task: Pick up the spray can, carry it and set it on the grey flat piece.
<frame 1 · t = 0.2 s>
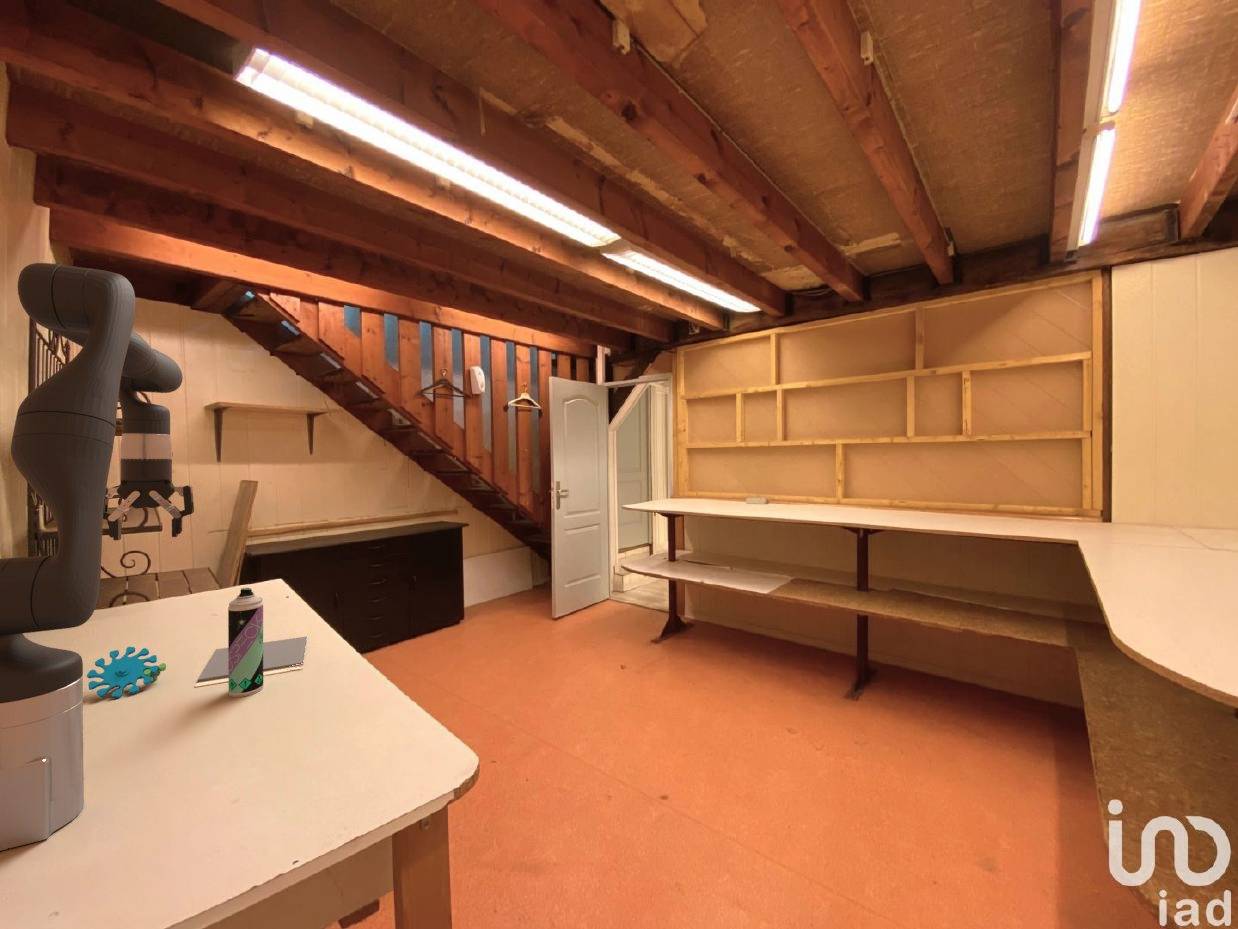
hand: (147, 538, 101), 29 cm above the table, tool pointing down, fingers open, 8 cm apart
spray can: (246, 691, 99), on the table
gear: (127, 691, 98), on the table
grey flat piece: (251, 676, 105), on the table
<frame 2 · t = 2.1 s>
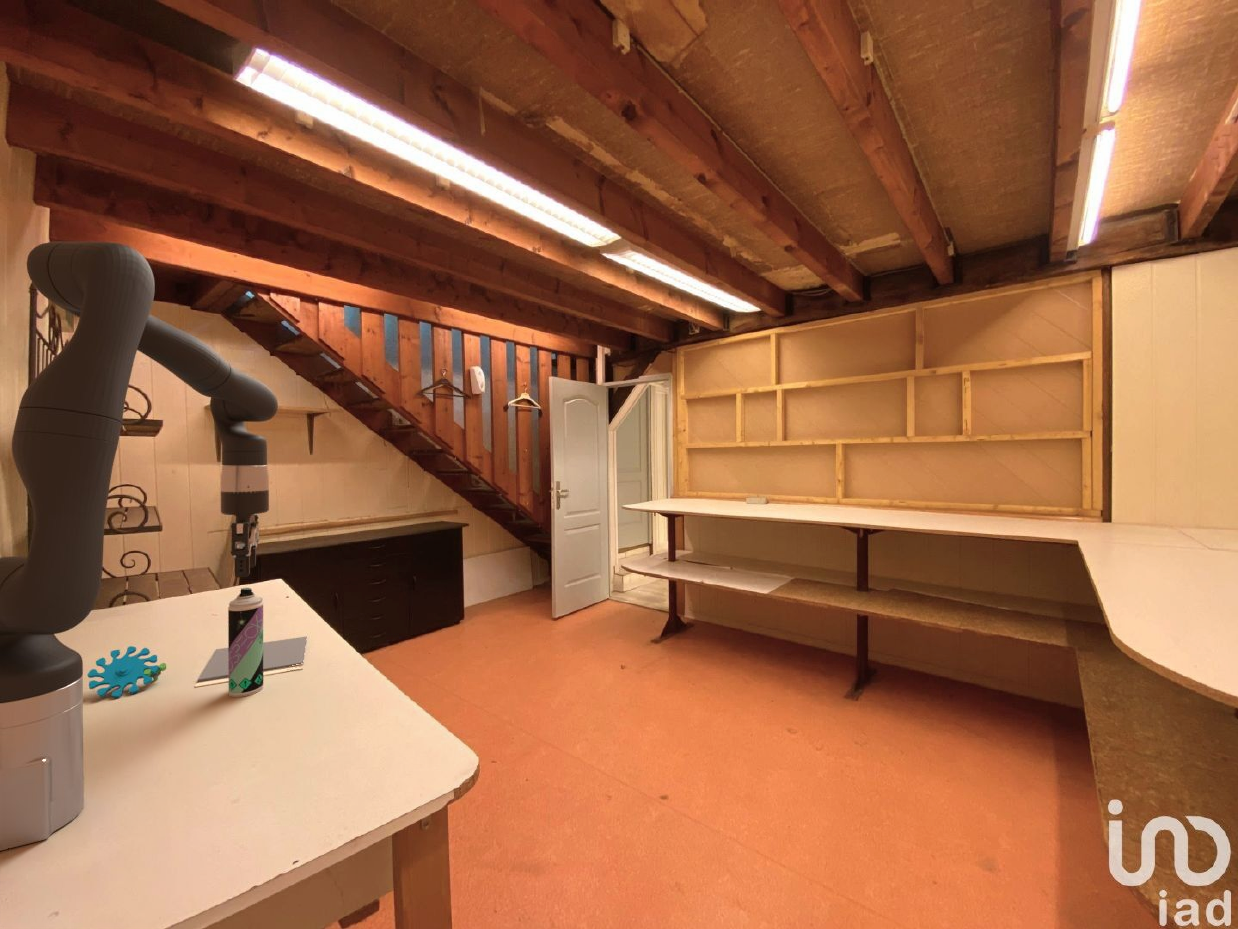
hand: (245, 572, 98), 23 cm above the table, tool pointing down, fingers open, 8 cm apart
nothing on the table moved.
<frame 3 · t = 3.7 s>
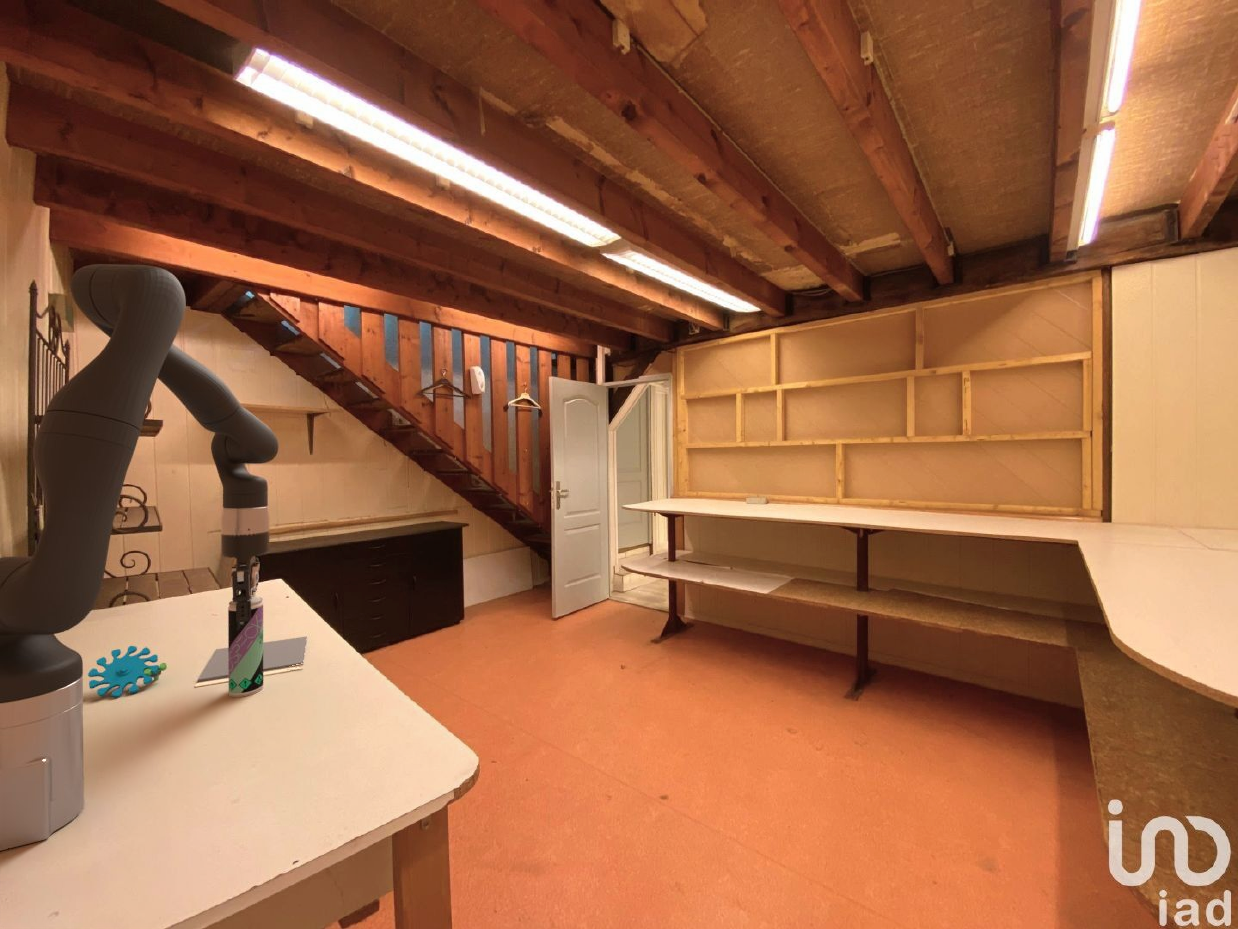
hand: (246, 616, 98), 14 cm above the table, tool pointing down, fingers closed on spray can, 5 cm apart
spray can: (246, 691, 99), on the table, touching gripper
everything else where it was.
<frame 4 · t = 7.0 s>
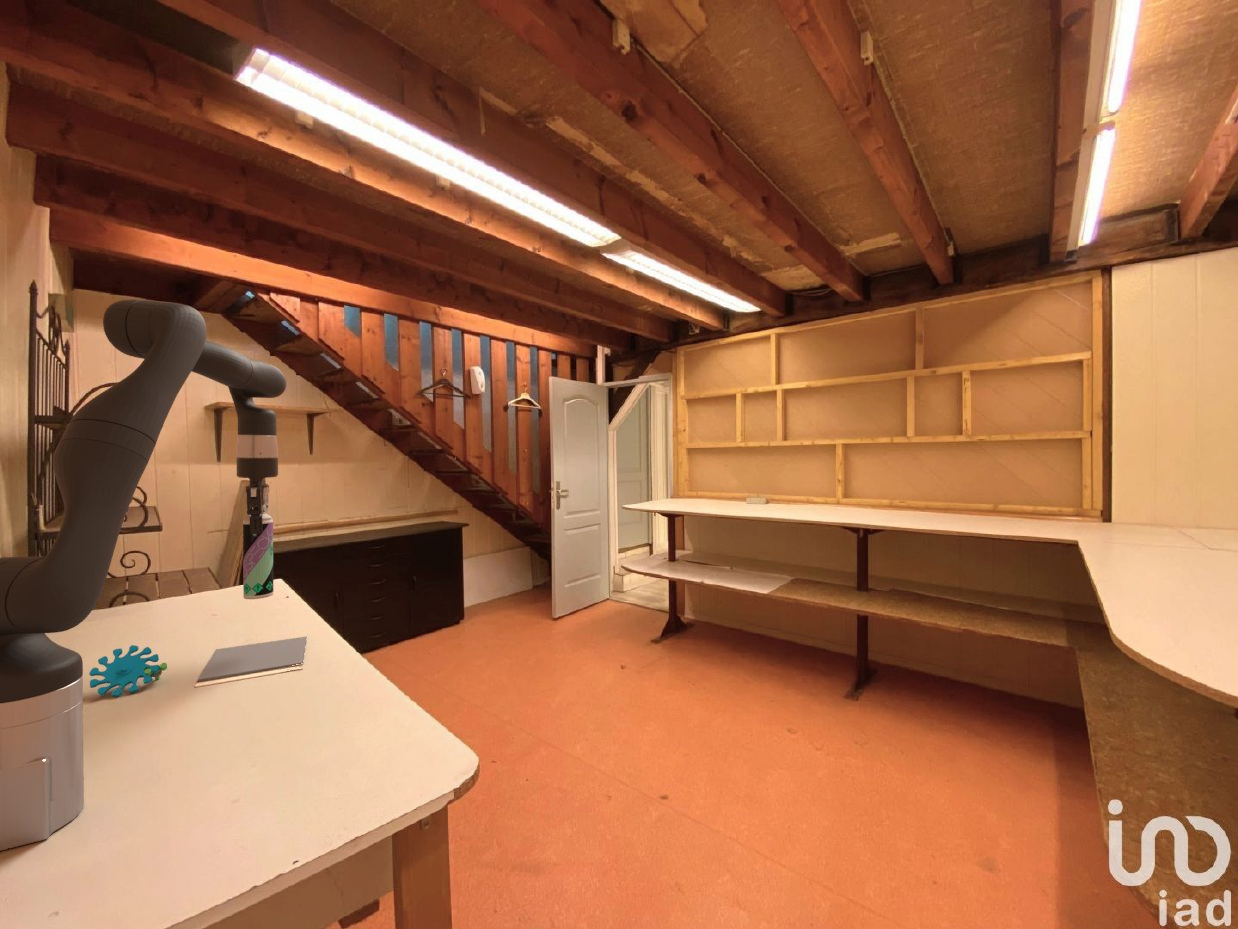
hand: (258, 531, 113), 29 cm above the table, tool pointing down, fingers closed on spray can, 5 cm apart
spray can: (258, 596, 113), point 14 cm above the table, touching gripper
everything else where it was.
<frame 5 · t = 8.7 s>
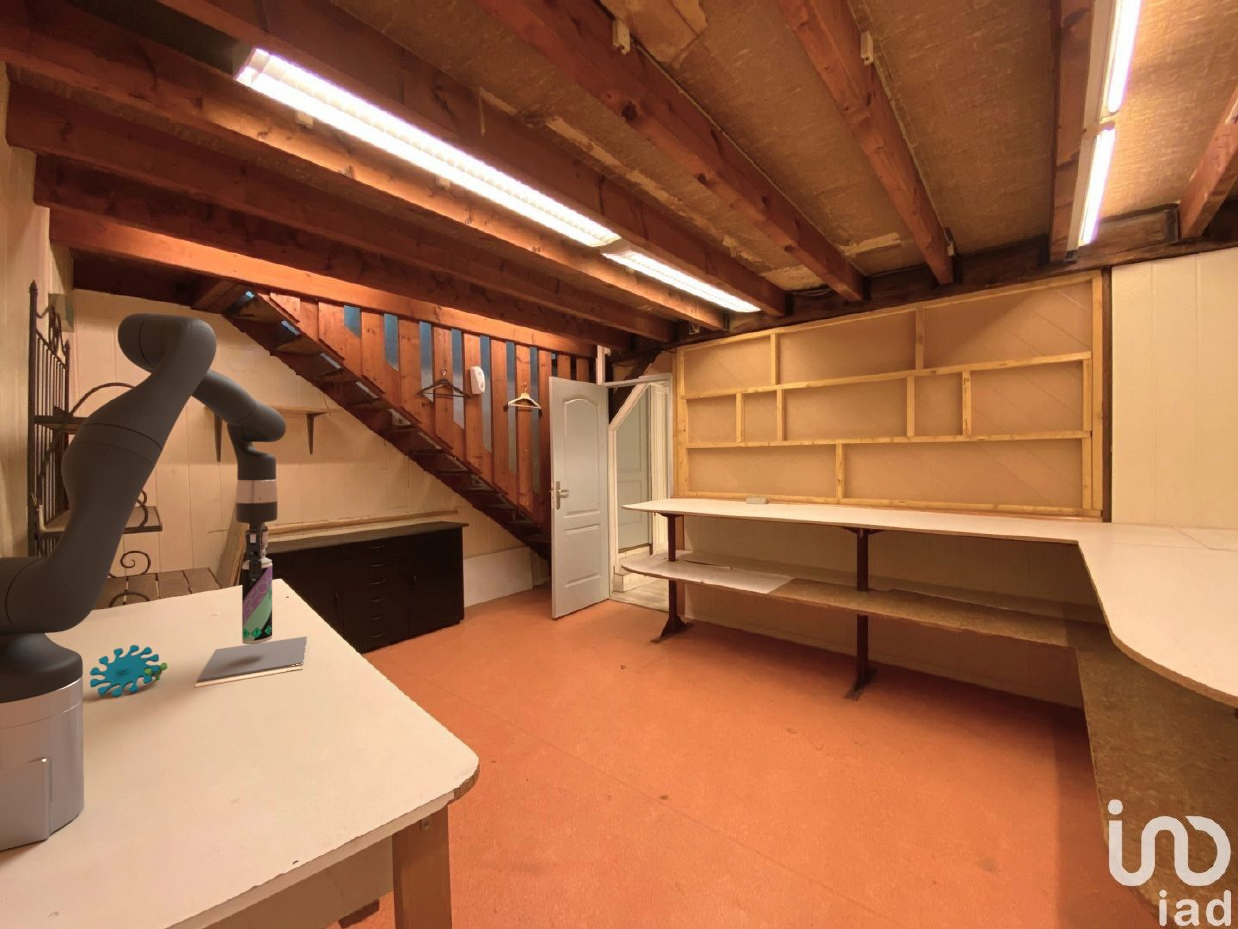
hand: (257, 575, 113), 19 cm above the table, tool pointing down, fingers closed on spray can, 5 cm apart
spray can: (257, 640, 113), point 4 cm above the table, touching gripper
everything else where it was.
when the fingers open (16 cm above the table, at t = 10.2 s): spray can drops 1 cm, resting on grey flat piece.
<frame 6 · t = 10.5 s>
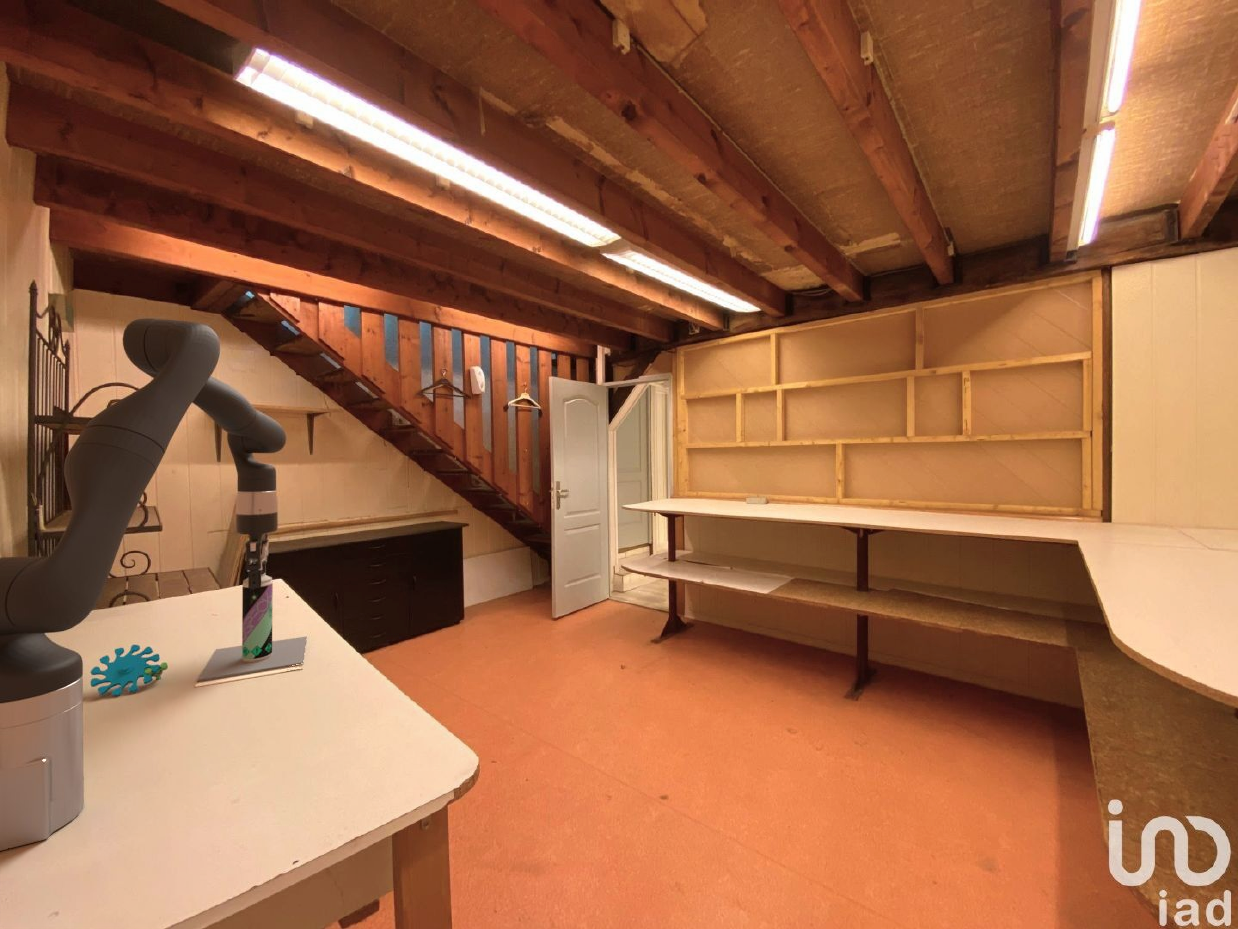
hand: (257, 583, 113), 17 cm above the table, tool pointing down, fingers open, 8 cm apart
spray can: (257, 658, 113), resting on grey flat piece
everything else where it was.
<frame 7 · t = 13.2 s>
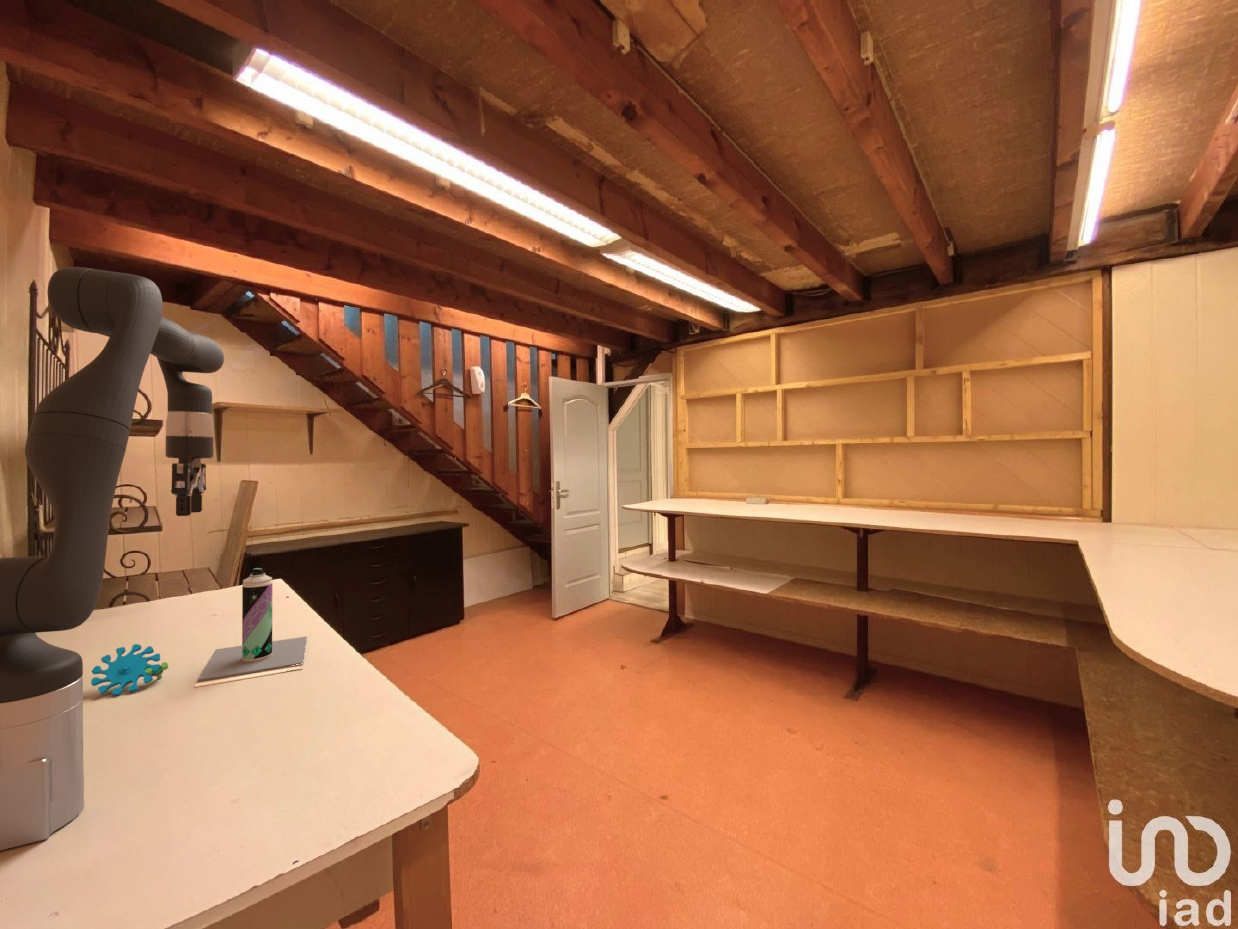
hand: (189, 514, 104), 34 cm above the table, tool pointing down, fingers open, 8 cm apart
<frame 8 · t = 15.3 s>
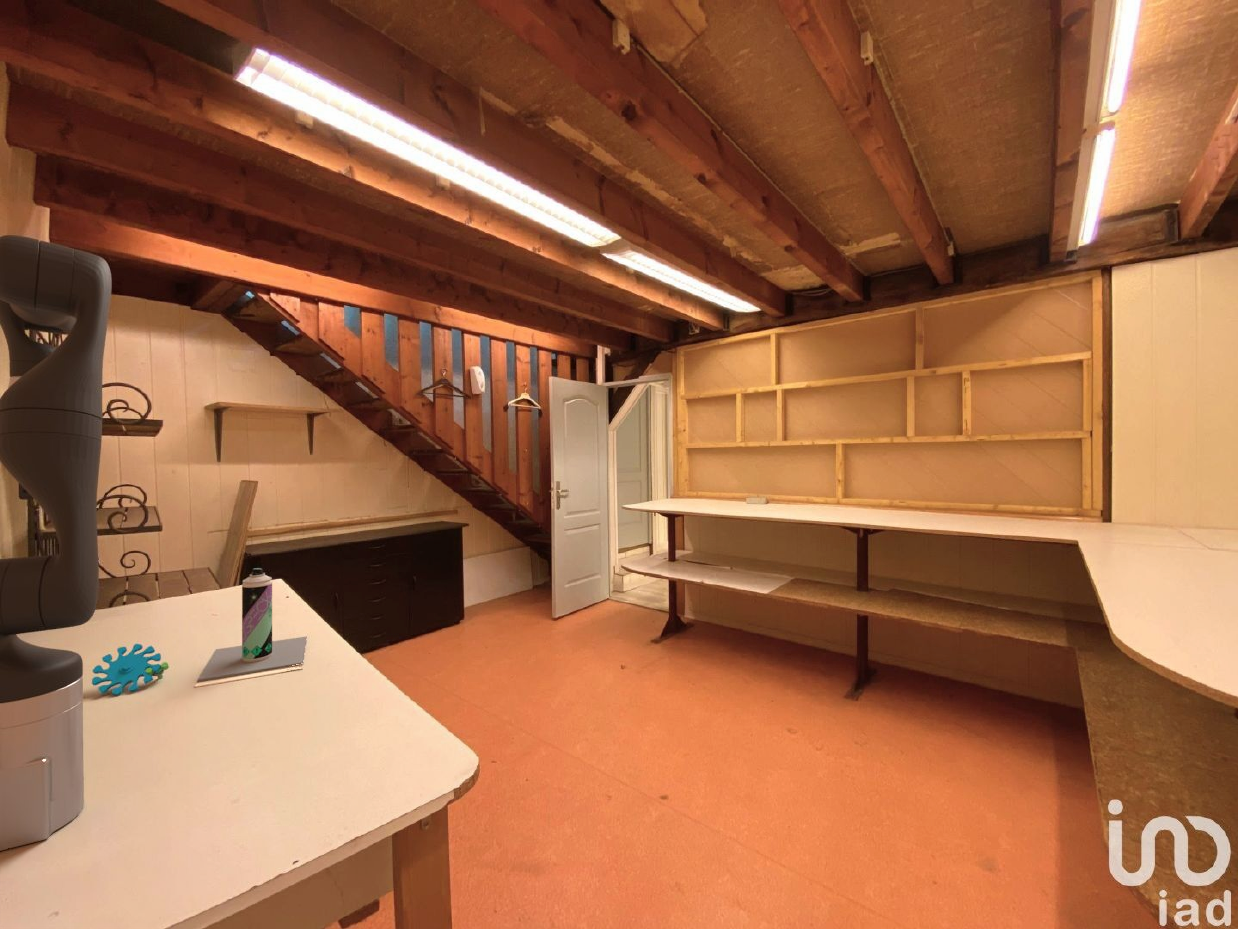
hand: (41, 497, 89), 38 cm above the table, tool pointing down, fingers open, 8 cm apart
at the end: spray can inside the target area on the grey flat piece (2.2 cm from its centre), point 0.3 cm above the grey flat piece's base; spray can tilted 0°; the gripper is holding nothing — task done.
